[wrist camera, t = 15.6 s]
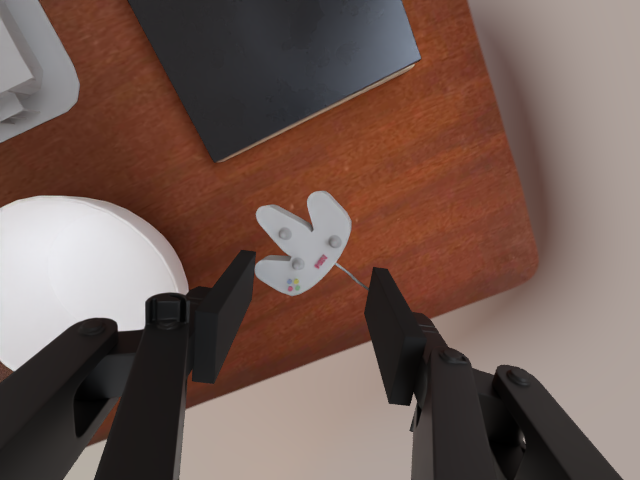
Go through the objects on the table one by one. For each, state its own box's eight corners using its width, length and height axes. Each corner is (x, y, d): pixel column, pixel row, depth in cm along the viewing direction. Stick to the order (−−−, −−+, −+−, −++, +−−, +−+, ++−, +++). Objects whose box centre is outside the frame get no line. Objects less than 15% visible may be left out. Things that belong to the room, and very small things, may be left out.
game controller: (272, 170, 17) (264, 174, 15) (468, 240, 18) (492, 255, 16) (243, 266, 19) (231, 284, 16) (426, 325, 20) (441, 351, 17)
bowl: (142, 151, 31) (90, 151, 24) (243, 306, 35) (224, 345, 28) (-6, 238, 33) (-93, 262, 26) (106, 374, 37) (57, 426, 30)
